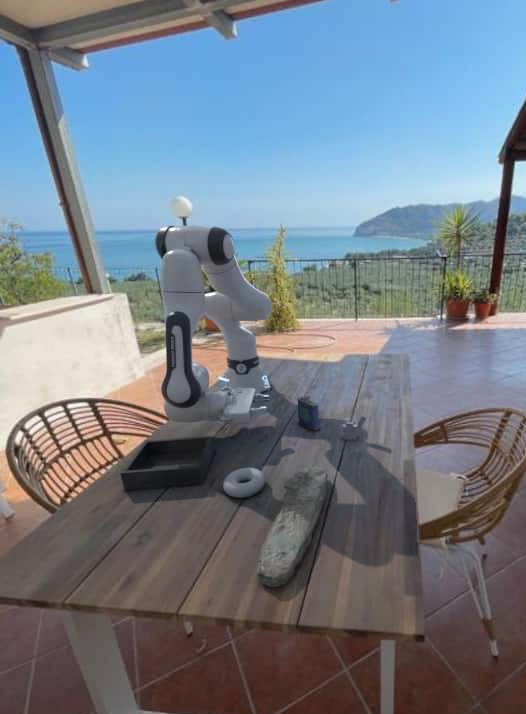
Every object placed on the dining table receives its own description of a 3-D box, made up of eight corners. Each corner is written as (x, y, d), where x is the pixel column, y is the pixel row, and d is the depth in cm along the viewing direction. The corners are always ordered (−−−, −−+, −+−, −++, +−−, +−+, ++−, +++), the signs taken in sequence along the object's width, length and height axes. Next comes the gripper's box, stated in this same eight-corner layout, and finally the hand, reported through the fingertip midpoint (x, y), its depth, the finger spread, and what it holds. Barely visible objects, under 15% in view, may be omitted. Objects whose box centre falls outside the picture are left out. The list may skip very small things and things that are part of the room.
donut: (216, 498, 92) (255, 503, 90) (213, 486, 91) (253, 490, 89) (236, 474, 101) (272, 478, 99) (234, 463, 100) (271, 466, 98)
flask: (320, 429, 124) (319, 398, 121) (313, 432, 122) (312, 401, 119) (302, 420, 130) (300, 390, 126) (295, 423, 128) (293, 393, 124)
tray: (148, 456, 109) (144, 440, 108) (214, 451, 112) (212, 436, 110) (124, 490, 95) (120, 473, 93) (201, 484, 97) (198, 467, 95)
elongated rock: (243, 591, 69) (297, 599, 68) (241, 570, 67) (296, 578, 66) (297, 471, 101) (334, 476, 100) (296, 454, 99) (334, 459, 98)
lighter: (343, 439, 118) (342, 415, 115) (343, 436, 120) (343, 413, 117) (366, 439, 118) (366, 416, 115) (366, 437, 120) (366, 413, 117)
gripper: (214, 410, 109) (264, 408, 111) (227, 385, 128) (269, 383, 130) (217, 431, 111) (266, 427, 113) (229, 402, 130) (271, 400, 132)
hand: (268, 403), depth 121 cm, fingers open, 8 cm apart
